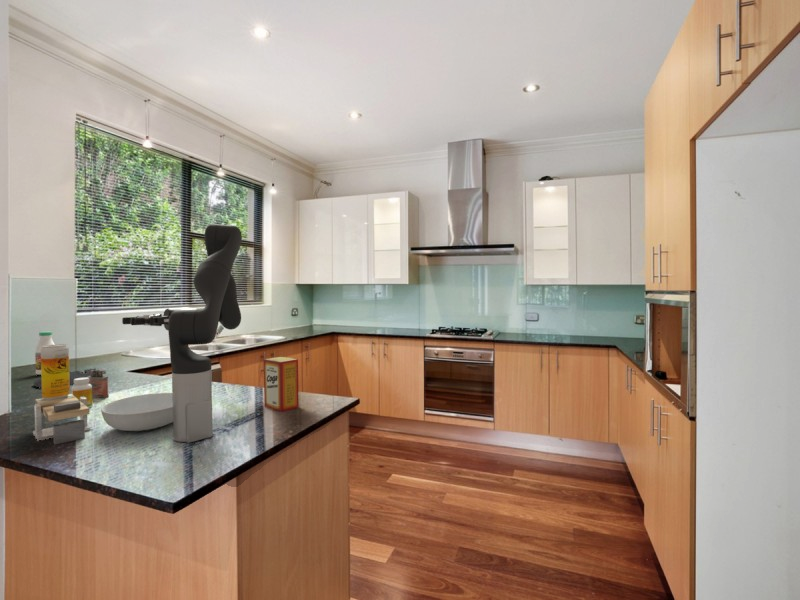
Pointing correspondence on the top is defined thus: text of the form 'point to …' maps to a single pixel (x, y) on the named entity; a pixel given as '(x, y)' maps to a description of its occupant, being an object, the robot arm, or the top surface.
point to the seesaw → (62, 408)
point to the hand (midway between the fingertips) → (126, 321)
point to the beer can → (55, 371)
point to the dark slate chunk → (71, 375)
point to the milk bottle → (44, 340)
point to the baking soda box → (281, 383)
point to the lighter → (99, 384)
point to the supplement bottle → (82, 390)
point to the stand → (61, 428)
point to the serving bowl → (139, 412)
